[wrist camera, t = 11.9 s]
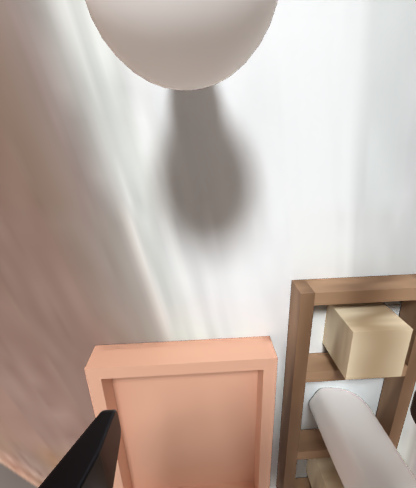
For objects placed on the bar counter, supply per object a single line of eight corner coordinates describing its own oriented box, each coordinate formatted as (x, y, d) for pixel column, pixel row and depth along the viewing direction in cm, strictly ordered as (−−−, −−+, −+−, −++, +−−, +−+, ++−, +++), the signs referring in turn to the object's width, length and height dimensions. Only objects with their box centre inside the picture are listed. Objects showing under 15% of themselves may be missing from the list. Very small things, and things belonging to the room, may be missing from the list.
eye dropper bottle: (329, 430, 28) (421, 630, 17) (301, 395, 26) (382, 591, 15) (371, 409, 27) (497, 604, 16) (345, 371, 25) (465, 560, 14)
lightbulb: (247, 99, 17) (323, 45, 7) (148, 117, 18) (82, 91, 7) (233, -28, 15) (311, -363, 5) (120, -6, 15) (-29, -287, 5)
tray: (269, 336, 24) (277, 358, 21) (262, 480, 30) (267, 509, 28) (95, 345, 23) (84, 369, 21) (125, 490, 29) (119, 520, 27)
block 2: (377, 297, 23) (413, 329, 19) (369, 339, 24) (401, 376, 21) (327, 300, 23) (353, 332, 19) (322, 342, 24) (345, 379, 20)
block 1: (349, 439, 28) (372, 485, 25) (344, 467, 30) (365, 514, 26) (309, 442, 28) (326, 489, 25) (305, 469, 30) (321, 517, 26)
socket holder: (421, 273, 22) (442, 286, 20) (370, 479, 31) (381, 501, 29) (291, 280, 22) (300, 293, 20) (276, 485, 30) (281, 508, 28)
